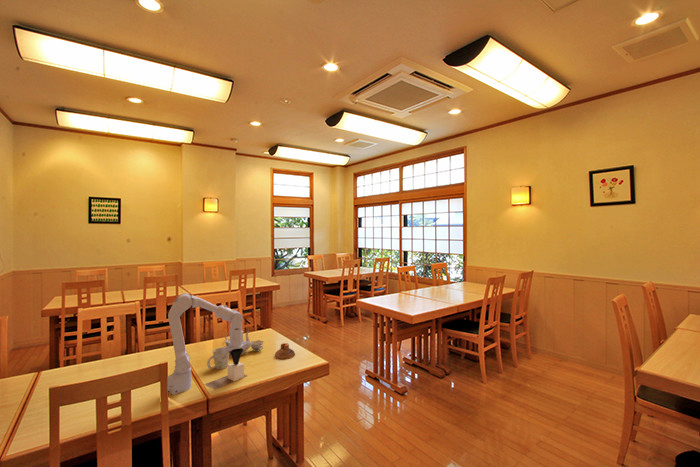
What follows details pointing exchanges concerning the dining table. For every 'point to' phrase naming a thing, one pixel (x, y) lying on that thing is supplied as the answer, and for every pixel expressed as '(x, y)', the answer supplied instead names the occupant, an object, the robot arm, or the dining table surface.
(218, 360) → the mug
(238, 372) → the tan rectangular block
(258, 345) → the chinaware
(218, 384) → the stand
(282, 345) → the bell
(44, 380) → the dining table surface
